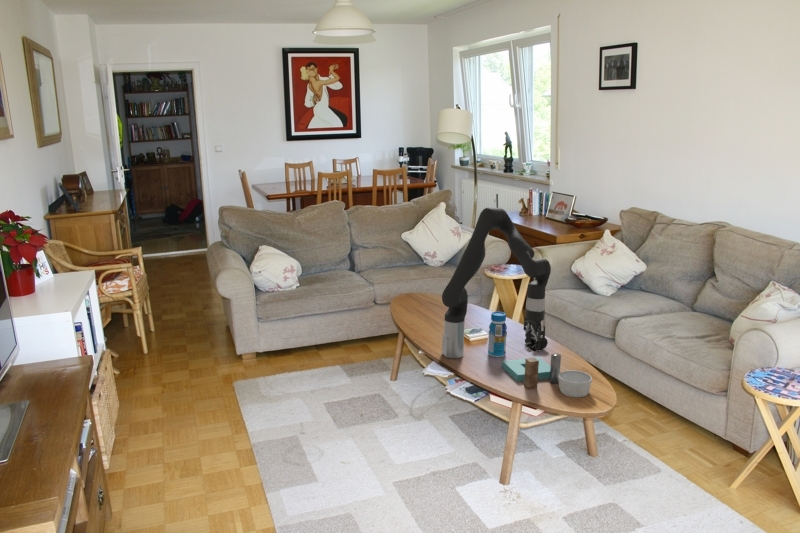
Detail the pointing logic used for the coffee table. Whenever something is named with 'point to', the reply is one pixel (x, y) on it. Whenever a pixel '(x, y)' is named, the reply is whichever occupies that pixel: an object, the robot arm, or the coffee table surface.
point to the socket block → (518, 369)
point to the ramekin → (574, 383)
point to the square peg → (531, 373)
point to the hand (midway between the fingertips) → (533, 345)
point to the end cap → (533, 341)
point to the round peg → (555, 368)
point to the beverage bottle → (497, 335)
